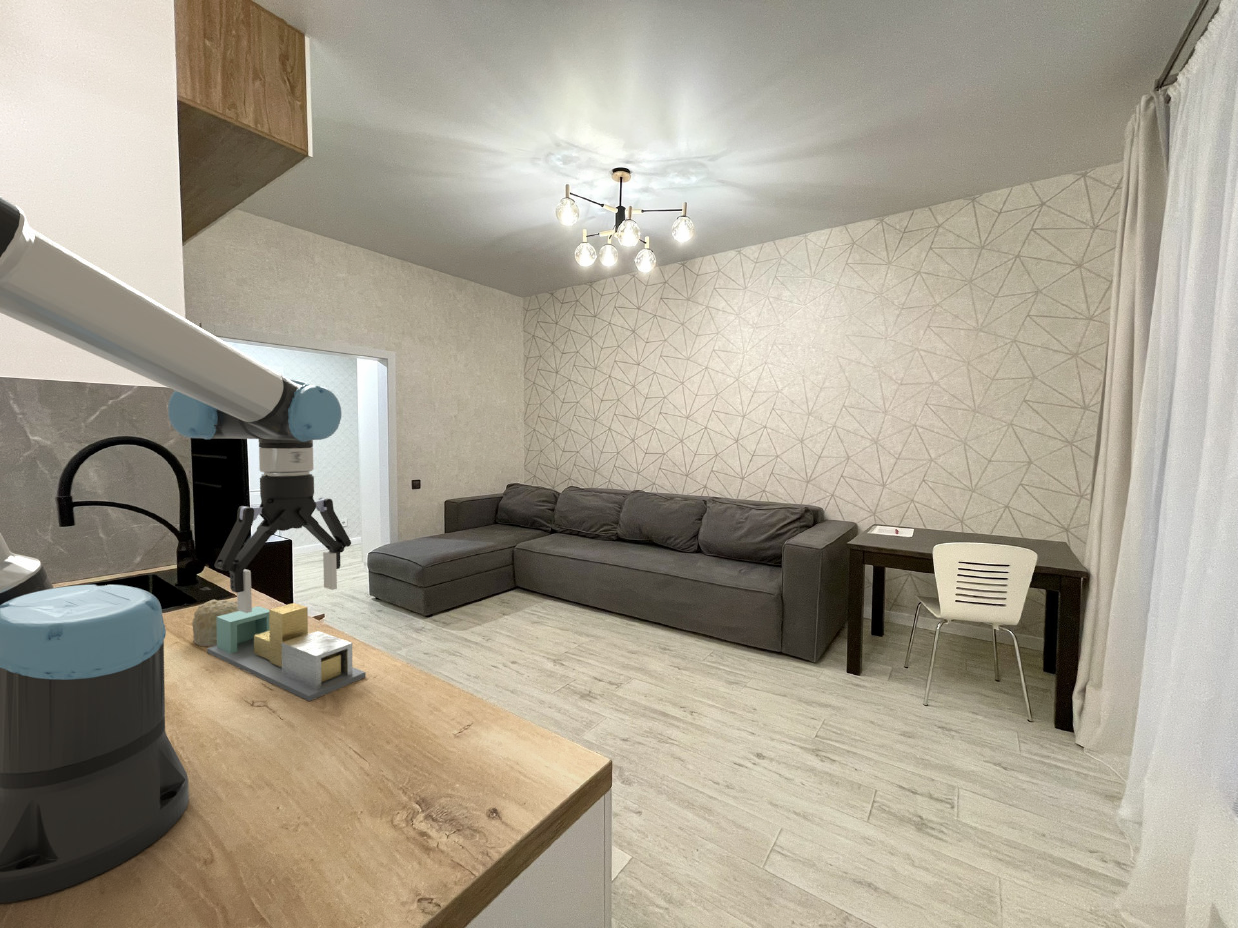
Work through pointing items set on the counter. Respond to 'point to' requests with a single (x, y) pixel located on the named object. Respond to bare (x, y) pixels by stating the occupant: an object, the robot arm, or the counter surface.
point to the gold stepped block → (286, 627)
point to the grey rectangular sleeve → (313, 657)
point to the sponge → (210, 620)
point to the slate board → (280, 671)
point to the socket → (240, 627)
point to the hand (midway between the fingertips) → (290, 598)
